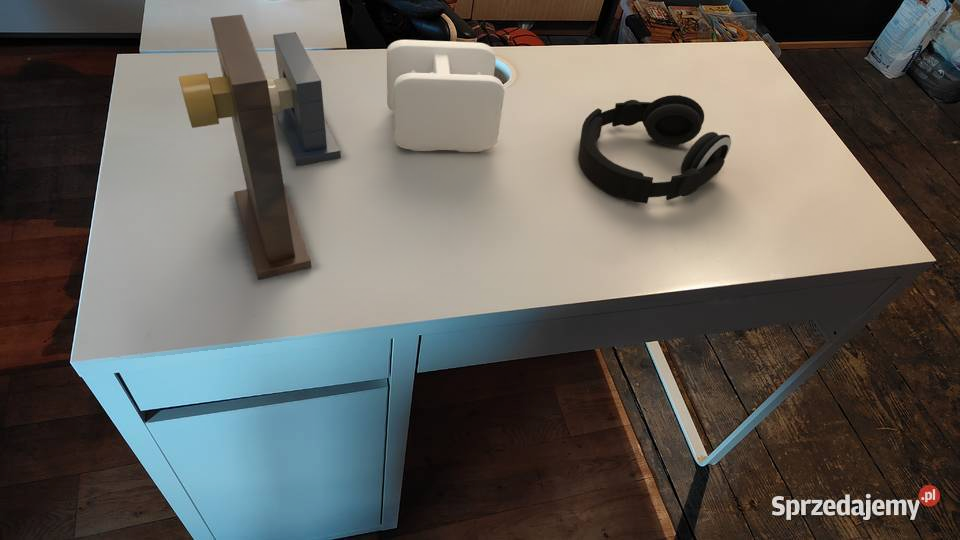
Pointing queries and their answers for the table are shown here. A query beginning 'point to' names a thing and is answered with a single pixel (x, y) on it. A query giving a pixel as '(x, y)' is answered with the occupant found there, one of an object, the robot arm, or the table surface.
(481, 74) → the cable organizer
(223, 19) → the panel front
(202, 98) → the knob front
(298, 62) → the panel back
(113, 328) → the table surface
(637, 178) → the headphones
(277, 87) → the knob back
